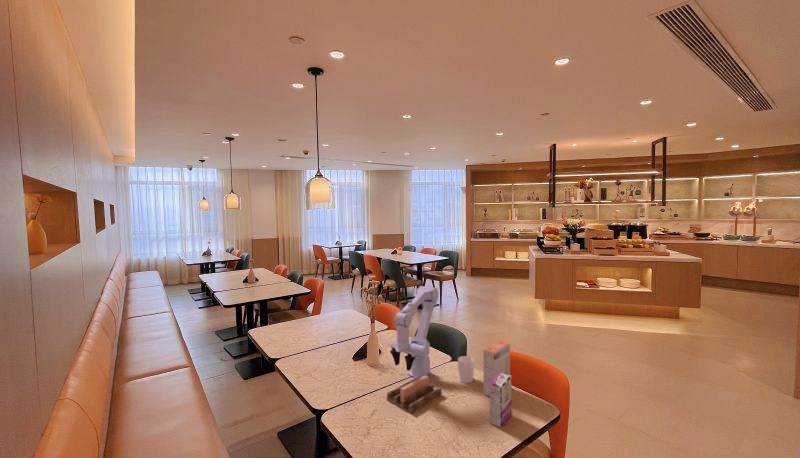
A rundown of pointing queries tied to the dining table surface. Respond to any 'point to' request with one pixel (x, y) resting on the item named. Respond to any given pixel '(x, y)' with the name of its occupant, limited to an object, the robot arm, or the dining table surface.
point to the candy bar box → (500, 400)
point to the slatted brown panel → (414, 397)
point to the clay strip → (413, 387)
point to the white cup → (465, 369)
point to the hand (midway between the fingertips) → (403, 367)
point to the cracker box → (495, 363)
